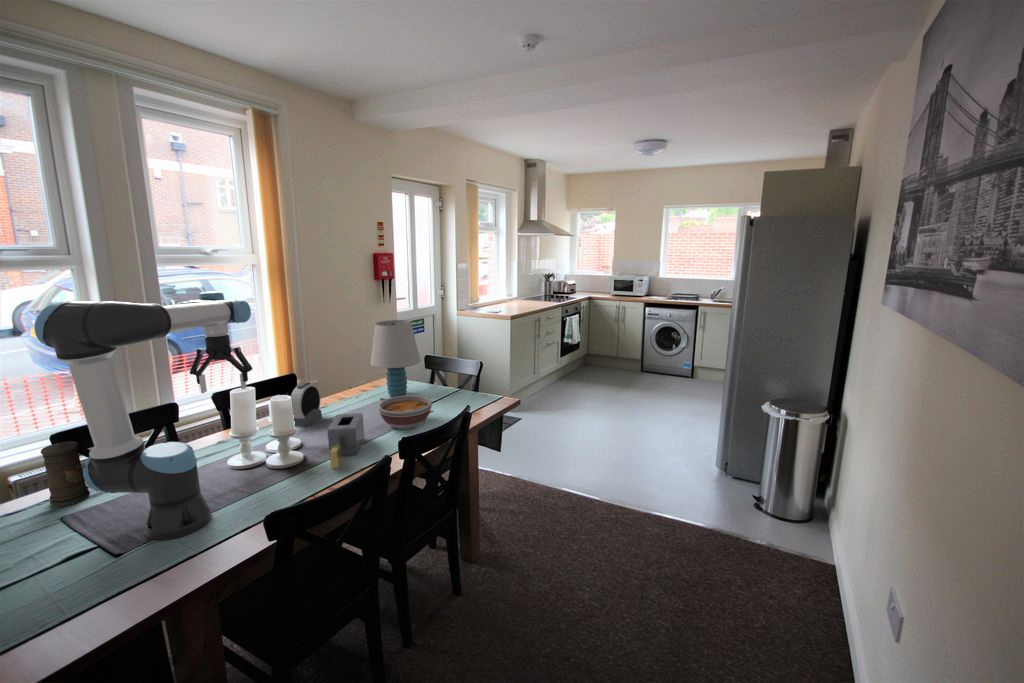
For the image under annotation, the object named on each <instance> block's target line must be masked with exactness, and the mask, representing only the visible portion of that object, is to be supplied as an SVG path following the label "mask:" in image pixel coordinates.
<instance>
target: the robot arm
mask: <svg viewBox="0 0 1024 683" xmlns="http://www.w3.org/2000/svg"><path fill="white" fill-rule="evenodd" d="M251 311H252V308H251V307H250V304H249V303H248V302H247V301H245V300H239V299H231V300H230V299H229V300H225V295H224V293H223V292H222V291H203V292H200V293H199V294H198V299H193V300H184V301H181V302H178V303H176V304H174V305H161V304H159V303H154V302H153V303H151V302H150V303H135V302H125V301H113V300H112V301H111V300H109V301H106V300H103V301H93V300H92V301H91V300H90V301H88V300H87V301H86V300H85V301H84V300H83V301H82V300H79V301H78V300H69V301H68V300H67V301H58V302H53V303H51V304H49V305H47V306H45V307H44V308H43V309H42V310H41V311H40V314H38V315H37V316H36V319H35V322H34V333H35V337H36V339H37V340H38V341H39V342H40V343H41V344H43V345H45V346H46V347H49V348H51V349H54V352H55V354H56V358H57V360H59V361H61V362H63V363H65V364H67V365H68V368H69V371H70V374H71V377H72V381H73V385H74V387H75V390H76V393H77V397H78V400H79V403H80V406H81V409H82V412H83V415H84V418H85V422H86V424H87V428H88V430H89V434H90V436H91V440H92V443H93V445H94V446H93V447H92V448H91V449H90V451H89V453H88V454H89V455H88V458H87V459H86V461H85V463H84V465H85V467H83V468H82V471H83V476H84V480H85V484H86V486H87V487H88V488H90V489H92V490H94V491H97V492H100V493H101V492H102V493H107V494H108V493H109V494H118V493H119V494H121V493H123V494H125V493H126V494H127V493H128V494H129V493H134V494H148V500H149V506H150V508H149V510H148V511H149V512H148V515H147V516H148V517H147V521H146V524H145V531H146V536H147V537H148V538H149V539H151V540H154V541H166V540H173V539H178V538H181V537H184V536H187V535H190V534H192V533H194V532H197V531H198V530H200V529H202V528H203V527H204V526H206V525H207V524H208V523H209V522H210V521H211V519H212V515H213V514H212V510H211V507H210V505H209V503H208V502H207V500H206V499H205V497H204V495H203V494H202V491H201V485H200V479H199V473H198V465H197V457H196V455H195V451H194V449H193V447H192V446H191V445H189V444H188V443H185V442H181V441H168V442H165V443H164V442H161V443H156V444H153V445H152V444H151V445H150V446H148V447H147V448H146V446H145V445H146V444H145V442H144V438H142V437H141V436H138V435H135V433H134V429H133V425H132V421H131V419H130V415H129V411H128V408H127V405H126V404H127V403H126V402H125V401H126V400H125V398H124V394H123V391H122V388H121V384H120V380H119V377H118V374H117V370H116V366H115V363H114V360H113V354H114V353H115V352H116V351H117V350H118V348H120V347H126V346H131V345H137V344H140V343H145V342H150V341H155V340H158V339H159V340H160V339H163V338H165V337H167V335H169V334H172V333H178V332H184V331H189V330H194V329H195V330H196V329H201V328H203V334H204V335H205V336H204V342H205V343H204V344H205V348H203V347H200V348H198V349H197V350H196V355H195V358H194V361H193V363H192V366H191V368H190V370H189V374H190V375H194V376H195V377H196V383H197V384H198V385H199V386H200V393H201V394H205V393H206V392H208V389H207V388H208V387H207V382H206V381H207V380H206V375H205V374H204V371H205V370H206V369H207V368H208V366H209V365H210V363H211V362H212V361H224V360H226V361H227V362H229V363H230V364H231V365H233V366H234V368H236V369H237V370H238V371H239V372H240V373H239V380H240V388H241V389H245V388H247V382H248V380H249V376H248V373H249V372H251V371H253V370H254V369H253V366H252V365H251V364H250V362H249V361H248V359H247V358H246V357H245V355H244V354H243V352H242V349H241V346H236V347H232V346H231V340H230V334H229V332H230V331H229V324H240V323H242V324H243V323H246V322H248V321H249V320H250V318H251V315H252V312H251ZM232 352H233V354H235V356H236V357H237V359H238V360H239V361H238V360H237V359H236V358H235V356H233V355H232V354H231V353H232ZM205 353H206V354H207V355H208V356H207V357H206V358H205V360H204V362H203V363H202V364H201V361H202V360H203V356H204V355H205ZM200 364H201V366H200Z"/></svg>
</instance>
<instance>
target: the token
mask: <svg viewBox="0 0 1024 683" xmlns="http://www.w3.org/2000/svg"><path fill="white" fill-rule="evenodd" d="M342 457H343V456H342V455H341V445H333V447H332V449H331V451H330V452H329V458H330V465H331V466H330V468H331V470H334V469H335V470H336V469H339V468H340V466H341V465H342V462H343V458H342Z"/></svg>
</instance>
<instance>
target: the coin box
mask: <svg viewBox="0 0 1024 683" xmlns="http://www.w3.org/2000/svg"><path fill="white" fill-rule="evenodd" d="M364 427H365V426H364V415H363V412H362V413H361V412H359V413H339V414H336V415H335V417H334V418H333V420H332V421H331V423H330V424H329V426H328V428H327V430H326V431H327V439H328V451H329V453H330V451H331V449H332V447H333V445H341V455H342V457H350V456H358V454H359V452H360V450H361V447H362V445H363V443H364V441H365V430H364V429H365V428H364Z"/></svg>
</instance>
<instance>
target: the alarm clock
mask: <svg viewBox="0 0 1024 683" xmlns="http://www.w3.org/2000/svg"><path fill="white" fill-rule="evenodd" d="M290 397H291V399H292V408H293V415H294V421H295V426H294V427H296V426H299V427H300V428H308V427H311V426H313V425H315V424H317V423H319V422H320V421H321V420H322V419H323V414H322V410H321V409H320V406H321V393H320V390H319V388H318V387H317V386H316V385H315V384H312V383H311V382H309V381H307V382H306V381H301V382H300V383H298V385H297V386H296V387H295V388H294V389H293V390H292V392H291V394H290ZM299 427H298V428H299Z"/></svg>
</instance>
